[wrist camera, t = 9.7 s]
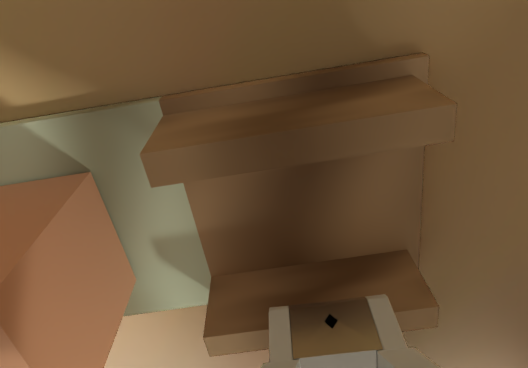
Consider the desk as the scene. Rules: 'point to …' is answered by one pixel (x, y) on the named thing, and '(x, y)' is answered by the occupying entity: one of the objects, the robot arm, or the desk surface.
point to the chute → (258, 191)
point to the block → (59, 275)
